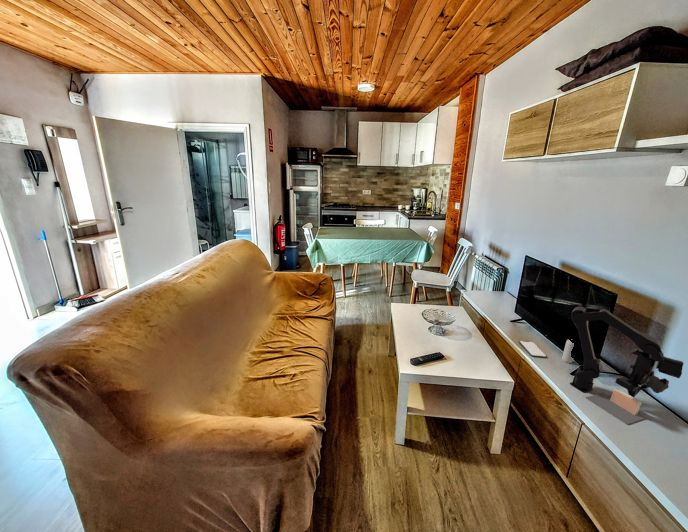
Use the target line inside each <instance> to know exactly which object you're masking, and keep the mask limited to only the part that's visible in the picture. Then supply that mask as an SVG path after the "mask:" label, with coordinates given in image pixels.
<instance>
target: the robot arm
mask: <svg viewBox="0 0 688 532" xmlns="http://www.w3.org/2000/svg"><path fill="white" fill-rule="evenodd" d="M570 313H571V314H570V318H571V320H572V322H573V324H574V325H575V327H576V329H577V332H578V336H579V342H580V346H581V351H582V354H583V364H582V365H579V366H578V368H577V371H576V372H574V377H573V378H572V382H570V383H569V384H570V386H572V387H574V388H576V389H577V390H579V391H580V392H582V393H587V392H590V391H591V392H592V391H593V389H594V388H593V386H594V380H595V379H597V378H599V377H600V376H601V373H602V370H603V365H602V359H601V358H597V357H596V356H595V352H594V351H595V350H594V346H593V343H592V339H591V334H590V329H589V321H590V322H591V321H604V322H605V323H607V324H608V325H609V326H611V327H613V328H614V330H615V329H616V331H618V332H619V333H621V334H623V335H624V336H626V337H627V338H628V339H630V340H631V341H632V342H633V343H634V344H635V346H636V348H632V349H631V354H632V355H635V358H634V361H633V364H630V365H629V368H630V369H631V370H630V372H628V373H627V375H626V376H627V377H626V376H621V377H617V378H616V379H615V384H617V385H618V386H620V387H622V388H624V389H626V390H627V394H629V395H630V396H632V397H634V398H636V396H637V395H638V394H639V392H641V391H642V390H645V389H649V388H650V389H651V390H652V392H654V393H655V394H659V393H663V392H664V391H665V390H667V389H669V387H670V386H669V383H670V381H669V380H668V379H667V378H666V377H665V378H659V377H657V376H656V375H655V371H654V370H653V369H654V367H655V369H657V371H658V373H661V374H664V375H668V376H671V377H672V378H677V379H680V378H681V377H682V374H683V366H684V361H682V360H678V359H674V358H670V357H667V356H664V355H665V354H664V352H663V351H662V347H661V343H660V340H659V339H657V338H655V337H653V336H651V335H649V334H647V333H644V332H641V331H639V330H638V329H636V328H635V327H633V326H631V325H630V324H628V323H627V322H625V320H622V319H621V318H619V317H618V316H616V315H615V314H614V313H611V312H610V310H608V309H606V308H593V307H583V306H576V307H574V309H573V310H572V311H571V312H570ZM655 363H656V364H655ZM628 377H629V378H628Z"/></svg>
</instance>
